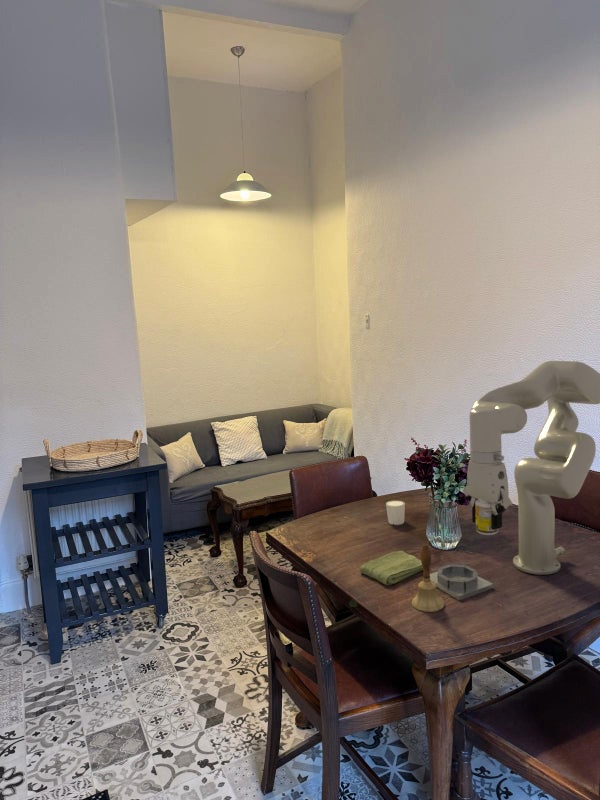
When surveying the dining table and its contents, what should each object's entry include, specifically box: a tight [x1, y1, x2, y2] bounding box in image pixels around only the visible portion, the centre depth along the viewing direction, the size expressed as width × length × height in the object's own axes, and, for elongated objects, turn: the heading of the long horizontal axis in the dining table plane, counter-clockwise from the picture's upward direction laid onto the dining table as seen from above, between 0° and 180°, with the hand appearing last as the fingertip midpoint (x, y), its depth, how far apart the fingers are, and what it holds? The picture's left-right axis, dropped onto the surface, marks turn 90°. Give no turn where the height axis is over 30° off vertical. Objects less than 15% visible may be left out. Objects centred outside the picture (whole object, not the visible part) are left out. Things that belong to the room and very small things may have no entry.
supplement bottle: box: [475, 498, 499, 536], centre depth 145 cm, size 6×6×10 cm
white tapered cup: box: [385, 500, 406, 526], centre depth 204 cm, size 7×7×7 cm
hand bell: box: [411, 543, 446, 613], centre depth 145 cm, size 8×8×16 cm
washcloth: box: [359, 550, 423, 586], centre depth 166 cm, size 13×18×3 cm
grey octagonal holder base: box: [430, 564, 494, 601], centre depth 155 cm, size 12×14×3 cm
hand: (487, 524), depth 146 cm, fingers closed on supplement bottle, 5 cm apart
